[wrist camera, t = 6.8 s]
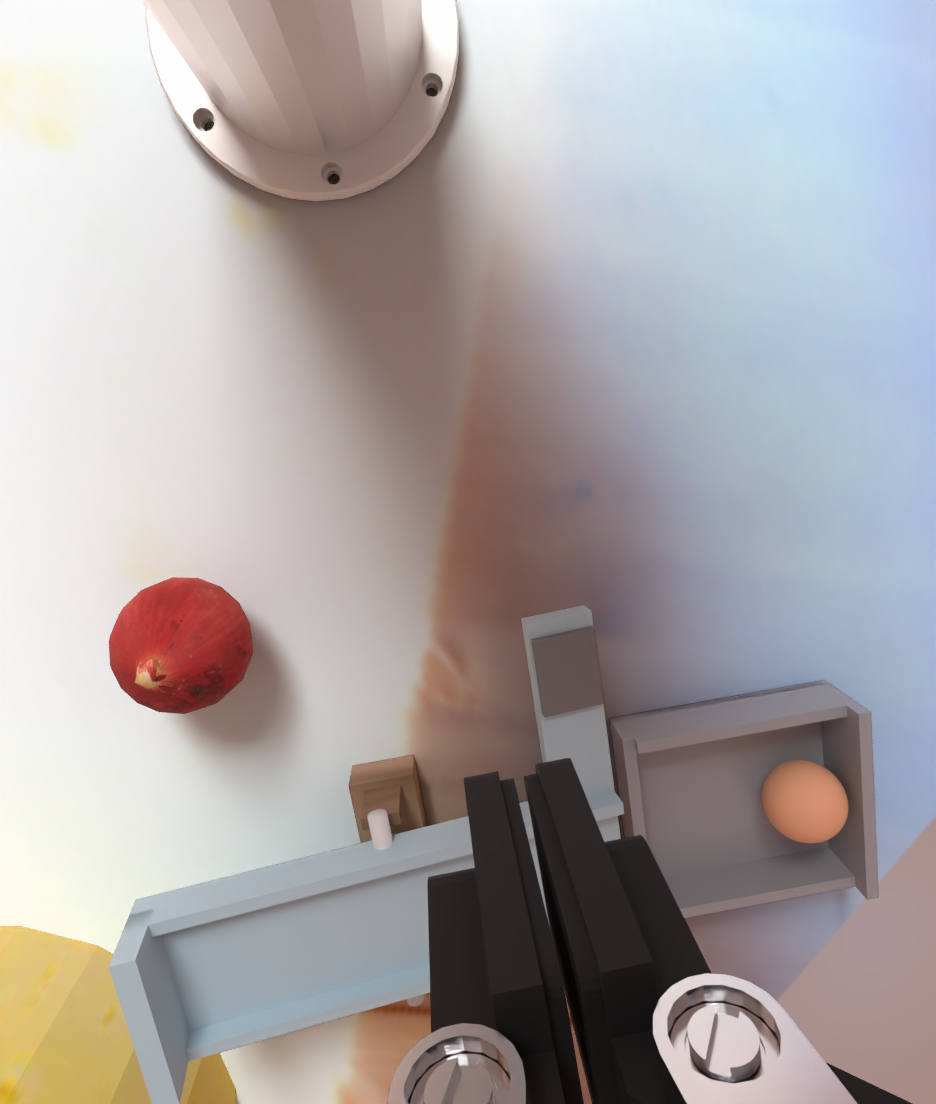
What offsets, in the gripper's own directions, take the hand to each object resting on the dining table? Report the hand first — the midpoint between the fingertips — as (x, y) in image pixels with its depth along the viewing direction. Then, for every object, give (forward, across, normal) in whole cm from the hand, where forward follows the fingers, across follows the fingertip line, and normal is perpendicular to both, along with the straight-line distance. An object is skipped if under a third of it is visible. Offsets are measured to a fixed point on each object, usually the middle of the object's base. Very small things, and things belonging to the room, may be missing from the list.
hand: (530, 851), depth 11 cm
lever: (+20, +6, +13) cm, 24 cm away
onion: (+25, +12, +3) cm, 28 cm away
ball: (+21, -13, +17) cm, 30 cm away
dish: (+24, -12, +17) cm, 32 cm away
